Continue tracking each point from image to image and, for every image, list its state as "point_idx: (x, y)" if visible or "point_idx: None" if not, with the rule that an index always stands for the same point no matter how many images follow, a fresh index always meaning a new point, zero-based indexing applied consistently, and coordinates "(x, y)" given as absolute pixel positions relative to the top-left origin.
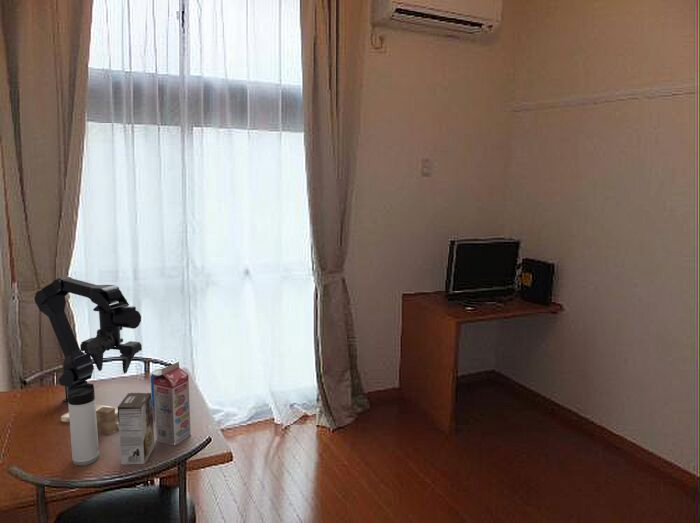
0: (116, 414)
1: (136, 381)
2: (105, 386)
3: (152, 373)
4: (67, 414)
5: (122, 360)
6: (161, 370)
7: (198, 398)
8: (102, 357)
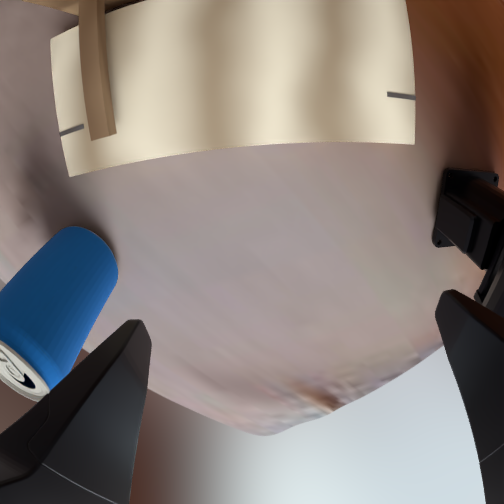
0: (86, 39)
1: (341, 375)
2: (421, 320)
3: (13, 353)
4: (395, 16)
5: (40, 451)
6: (39, 391)
7: None
8: (476, 426)
